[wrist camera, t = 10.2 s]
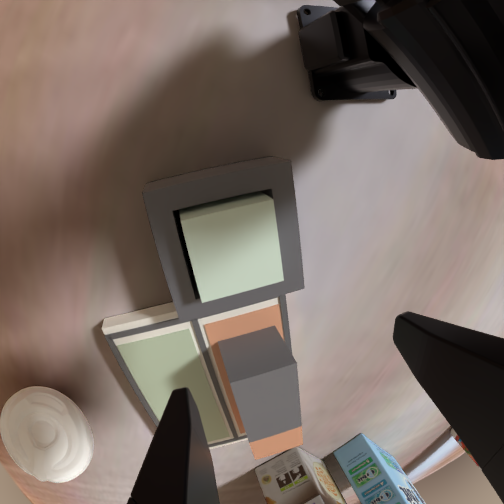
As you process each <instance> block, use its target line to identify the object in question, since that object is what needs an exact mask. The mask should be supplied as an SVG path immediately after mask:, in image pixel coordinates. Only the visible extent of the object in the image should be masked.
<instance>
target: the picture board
mask: <svg viewBox="0 0 504 504" xmlns="http://www.w3.org/2000/svg"><path fill="white" fill-rule="evenodd" d="M274 325H275V327H276V328H277V330H278V332H279V333H280V335H281V337H282V339H283V340H284V342H285V344H286V345H287V347H288V349H289V351H290V352H291V354H292V349H291V339H290V330H289V321H288V313H287V304H286V296H285V294H284V295H280V296H277V297H274V298H270V299H267V300H263V301H260V302H256V303H252V304H249V305H245V306H242V307H238V308H234V309H231V310H227V311H223V312H220V313H216V314H212V315H208V316H204V317H200V318H197V319H193V320H189V321H185V322H181V323H180V320H179V317H178V314H177V311H176V308H175V305H174V302H170V303H166V304H162V305H158V306H154V307H150V308H146V309H142V310H138V311H134V312H130V313H125V314H121V315H117V316H113V317H109V318H104V321H103V325H102V330H103V333H104V335H105V338H106V340H107V342H108V344H109V346H110V348H111V350H112V352H113V354H114V356H115V358H116V359H117V361H118V363H119V365H120V367H121V369H122V371H123V372H124V374H125V376H126V378H127V379H128V381H129V383H130V385H131V386H132V388H133V390H134V391H135V393H136V395H137V396H138V398H139V400H140V401H141V403H142V405H143V406H144V408H145V409H146V411H147V412H148V414H149V416H150V417H151V419H152V420H153V422H154V423H155V425H156V426H157V427H158V424H159V422H160V419H161V417H162V415H163V412H164V410H165V407H166V405H167V402H168V400H169V398H170V395H171V393H172V391H173V390H174V389H178V388H183V387H188V388H189V390H190V392H191V394H192V396H193V398H194V400H195V403H196V405H197V407H198V410H199V413H200V417H201V421H202V425H203V428H204V432H205V436H206V439H207V443H208V446H209V449H212V448H217V447H221V446H225V445H229V444H233V443H236V442H240V441H244V440H247V439H248V437H247V435H246V432H245V429H244V426H243V423H242V420H241V417H240V414H239V410H238V407H237V404H236V401H235V398H234V395H233V392H232V389H231V385H230V382H229V379H228V376H227V372H226V369H225V366H224V362H223V359H222V356H221V352H220V349H219V345H218V341H221V340H225V339H229V338H232V337H236V336H240V335H243V334H247V333H250V332H254V331H257V330H261V329H264V328H268V327H271V326H274Z"/></svg>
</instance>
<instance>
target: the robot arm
mask: <svg viewBox="0 0 504 504" xmlns="http://www.w3.org/2000/svg"><path fill="white" fill-rule="evenodd" d="M333 1H335V2H336V3H337V4H338V5H339V6H341V7H339V8H334V7H324V6H311V5H303V6H302V7H300V8H299V9H298V10H297V15H298V19H299V24H300V29H301V30H300V31H299V38H300V43H301V48H302V54H303V59H304V65H305V68H306V69H307V70H308V73H309V79H310V85H311V92H312V96H313V97H314V99H316V100H318V101H327V100H351V99H394V98H395V97H396V90H399V89H415V88H418V89H419V90H420V92H421V93H422V94H423V96H424V97H425V98H426V100H427V101H428V102H429V104H430V105H431V106H432V108H433V109H434V110H435V112H436V113H437V115H438V116H439V118H440V119H441V121H442V122H443V123H444V125H445V126H446V128H447V129H448V131H449V132H450V134H451V135H452V136H453V138H454V139H455V140H456V141H457V143H458V144H460V145H462V146H463V147H465V148H467V149H469V150H471V151H473V152H475V153H476V155H477V157H479V158H484V159H491V160H496V159H504V0H333ZM304 10H305V11H307V12H308V15H306V14H305V13H304V12H303V11H304ZM319 89H320V90H321V91H322V92H323V95H322V96H320V95H319V93H318V91H319ZM389 90H390V94H389V92H388V91H389ZM393 340H394V343H395V345H396V347H397V348H398V350H399V352H400V353H401V355H402V356H403V358H404V360H405V361H406V363H407V365H408V366H409V368H410V370H411V371H412V373H413V375H414V376H415V378H416V379H417V381H418V382H419V383H420V385H421V386H422V388H423V389H424V390H425V391H426V393H427V394H428V395H429V397H430V398H431V399H432V401H433V402H434V403H435V405H436V406H437V408H438V409H439V410H440V412H441V413H442V414H443V416H444V417H445V418H446V420H447V421H448V423H449V424H450V425H451V427H452V428H453V430H454V431H455V432H456V434H457V435H458V437H459V438H460V439H461V441H462V442H463V444H464V445H465V446H466V448H467V449H468V451H469V452H470V454H471V455H472V457H473V458H474V459H475V461H476V462H477V464H478V465H479V467H480V468H481V469H482V472H483V473H484V474H485V476H486V477H487V479H488V480H489V482H490V483H491V485H492V486H493V488H494V489H495V491H496V493H497V494H498V496H499V497H500V499H501V500H502V502H503V504H504V338H500V337H497V336H493V335H489V334H486V333H482V332H479V331H475V330H472V329H468V328H465V327H461V326H458V325H454V324H451V323H447V322H444V321H440V320H437V319H433V318H430V317H426V316H423V315H419V314H416V313H412V312H404V313H402V314H400V315H398V316H397V317H396V319H395V325H394V332H393ZM127 504H220V502H219V497H218V491H217V485H216V479H215V473H214V467H213V462H212V457H211V453H210V450H209V446H208V443H207V439H206V436H205V432H204V428H203V425H202V421H201V417H200V413H199V410H198V407H197V405H196V403H195V400H194V398H193V396H192V394H191V392H190V390H189V388H188V387H183V388H178V389H174V390H173V391H172V393H171V395H170V398H169V400H168V402H167V405H166V407H165V410H164V412H163V415H162V417H161V419H160V422H159V424H158V427H157V429H156V432H155V434H154V437H153V439H152V442H151V444H150V447H149V449H148V452H147V454H146V457H145V459H144V462H143V464H142V467H141V469H140V472H139V474H138V477H137V479H136V482H135V485H134V487H133V490H132V492H131V497H130V498H129V500H128V502H127Z"/></svg>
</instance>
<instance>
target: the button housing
mask: <svg viewBox="0 0 504 504" xmlns="http://www.w3.org/2000/svg"><path fill="white" fill-rule="evenodd" d="M257 191H261V192H263V193H264V194H266V195H267V196H269V197H270V198H272V199H273V200H274V208H275V215H276V222H277V230H278V237H279V245H280V253H281V261H282V269H283V277H284V281H281V282H278V283H274V284H270V285H267V286H263V287H260V288H256V289H252V290H249V291H245V292H241V293H238V294H234V295H230V296H227V297H223V298H219V299H215V300H211V301H208V302H204V303H202V301H201V298H200V294H199V290H198V287H197V283H196V279H195V276H194V275H190V271H189V267H188V264H187V260H186V256H185V252H184V248H183V244H182V240H181V237H180V233H179V228H178V224H177V220H176V216H175V212H174V210H178V209H182V208H186V207H190V206H194V205H199V204H203V203H207V202H211V201H216V200H220V199H224V198H229V197H233V196H238V195H243V194H247V193H252V192H257ZM142 194H143V198H144V202H145V206H146V210H147V214H148V218H149V222H150V225H151V229H152V233H153V236H154V240H155V244H156V247H157V251H158V254H159V257H160V261H161V264H162V268H163V271H164V274H165V277H166V281H167V284H168V287H169V290H170V293H171V296H172V299H173V302H174V305H175V308H176V311H177V314H178V317H179V320H180V323H181V322H185V321H189V320H193V319H197V318H200V317H204V316H208V315H212V314H216V313H220V312H223V311H227V310H231V309H234V308H238V307H242V306H245V305H249V304H252V303H256V302H260V301H263V300H267V299H270V298H274V297H277V296H280V295H284V294H287V293H291V292H294V291H297V290H301V289H304V277H303V265H302V255H301V244H300V234H299V225H298V216H297V207H296V198H295V190H294V181H293V173H292V166H291V161H289V160H285V159H281V158H277V157H273V156H271V157H265V158H259V159H254V160H248V161H243V162H238V163H233V164H228V165H223V166H218V167H213V168H209V169H204V170H200V171H195V172H191V173H186V174H182V175H178V176H174V177H170V178H166V179H162V180H158V181H154V182H150V183H146V185H145V188H144V190H143V192H142Z"/></svg>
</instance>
